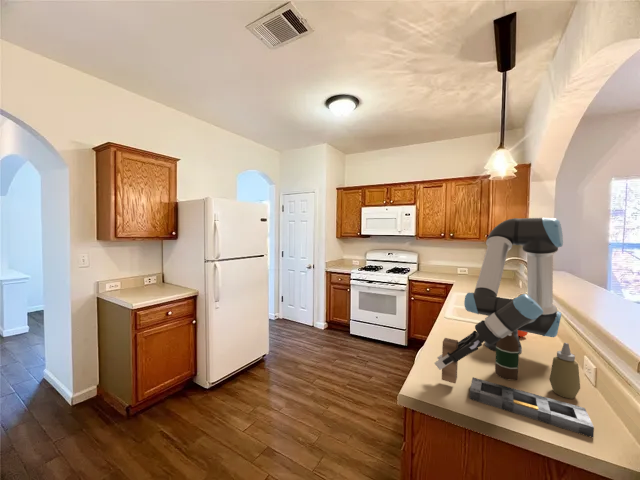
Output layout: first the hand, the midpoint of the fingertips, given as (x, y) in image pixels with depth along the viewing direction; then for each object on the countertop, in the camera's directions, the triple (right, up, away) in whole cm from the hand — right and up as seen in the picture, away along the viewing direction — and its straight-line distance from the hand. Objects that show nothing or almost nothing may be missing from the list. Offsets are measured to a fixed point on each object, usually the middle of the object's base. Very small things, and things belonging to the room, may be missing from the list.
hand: (438, 363), depth 101 cm
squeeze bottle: (+41, -8, -6) cm, 43 cm away
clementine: (+65, -7, +47) cm, 81 cm away
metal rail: (+21, -8, -14) cm, 27 cm away
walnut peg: (+3, -5, -2) cm, 6 cm away
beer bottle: (+29, -8, +6) cm, 31 cm away
